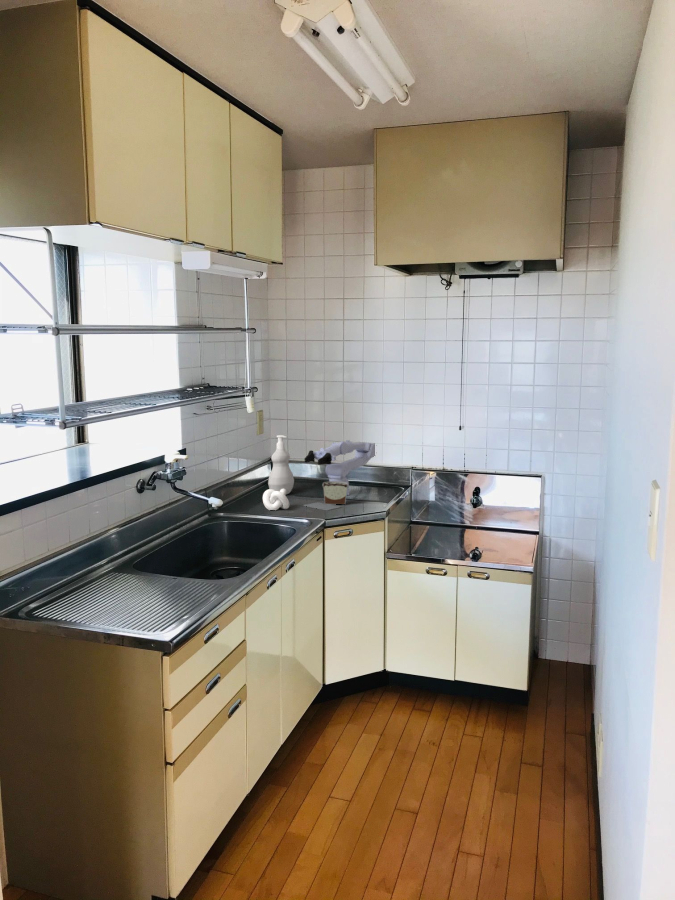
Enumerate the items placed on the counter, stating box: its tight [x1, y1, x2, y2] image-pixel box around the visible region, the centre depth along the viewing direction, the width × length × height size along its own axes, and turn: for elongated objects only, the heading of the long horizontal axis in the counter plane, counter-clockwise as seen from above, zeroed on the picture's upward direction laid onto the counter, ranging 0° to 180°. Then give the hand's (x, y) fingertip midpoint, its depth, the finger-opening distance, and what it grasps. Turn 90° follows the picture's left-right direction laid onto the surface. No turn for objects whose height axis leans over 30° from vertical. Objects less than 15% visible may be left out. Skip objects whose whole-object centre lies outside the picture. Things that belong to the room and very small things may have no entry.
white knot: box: [262, 489, 290, 511], centre depth 322 cm, size 11×12×9 cm
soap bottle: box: [267, 434, 295, 495], centre depth 356 cm, size 17×12×29 cm
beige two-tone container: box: [321, 480, 350, 506], centre depth 331 cm, size 12×6×10 cm, turn 84°
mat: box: [302, 501, 341, 512], centre depth 325 cm, size 9×16×1 cm, turn 46°
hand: (311, 461), depth 333 cm, fingers open, 7 cm apart
